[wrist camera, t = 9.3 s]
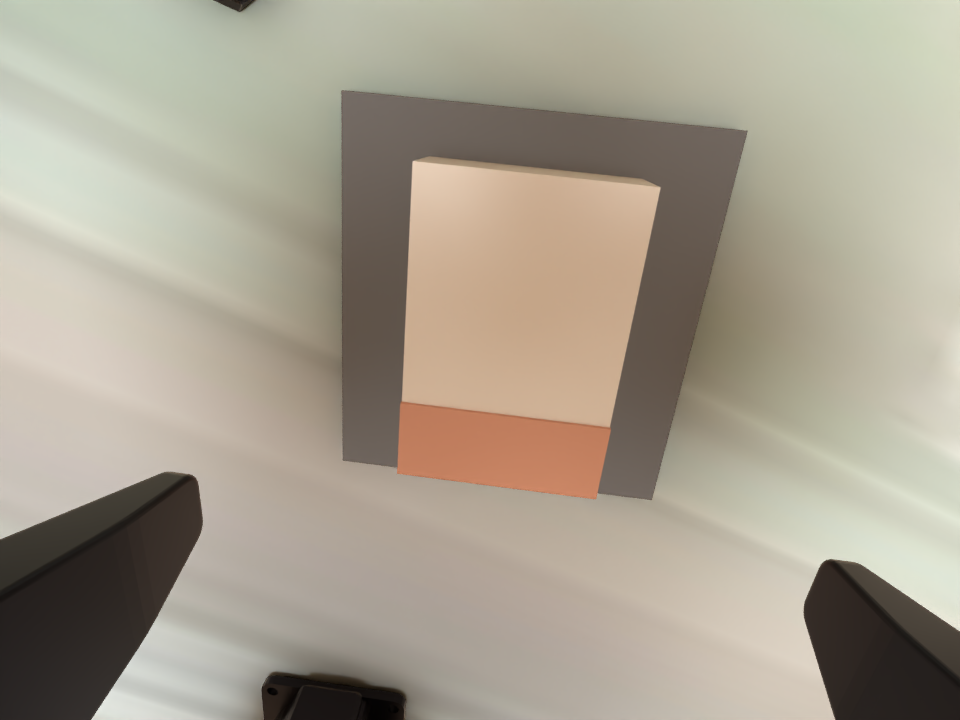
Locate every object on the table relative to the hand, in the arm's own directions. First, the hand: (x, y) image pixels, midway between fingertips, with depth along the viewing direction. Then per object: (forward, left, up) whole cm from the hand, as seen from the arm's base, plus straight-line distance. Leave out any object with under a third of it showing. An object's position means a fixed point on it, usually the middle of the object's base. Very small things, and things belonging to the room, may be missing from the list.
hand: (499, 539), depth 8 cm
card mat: (0, 0, -11) cm, 11 cm away
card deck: (0, 0, -10) cm, 10 cm away
